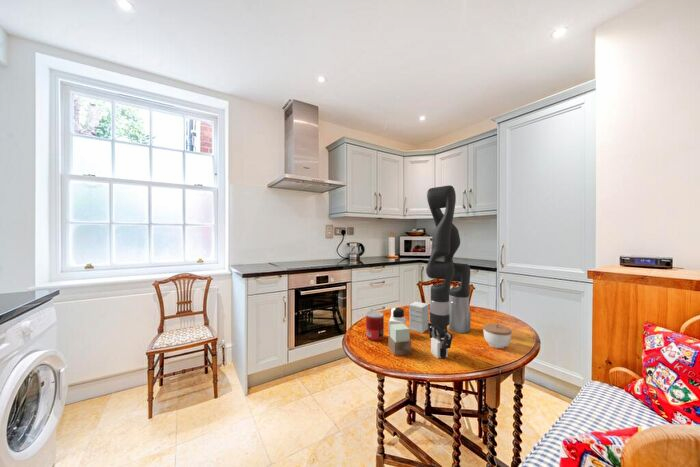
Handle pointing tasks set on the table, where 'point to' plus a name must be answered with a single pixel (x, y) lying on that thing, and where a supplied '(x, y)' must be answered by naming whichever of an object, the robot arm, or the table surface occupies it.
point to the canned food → (375, 325)
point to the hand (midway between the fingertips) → (439, 353)
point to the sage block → (399, 332)
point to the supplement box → (418, 316)
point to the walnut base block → (399, 347)
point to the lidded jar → (497, 335)
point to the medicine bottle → (397, 317)
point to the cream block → (436, 347)
